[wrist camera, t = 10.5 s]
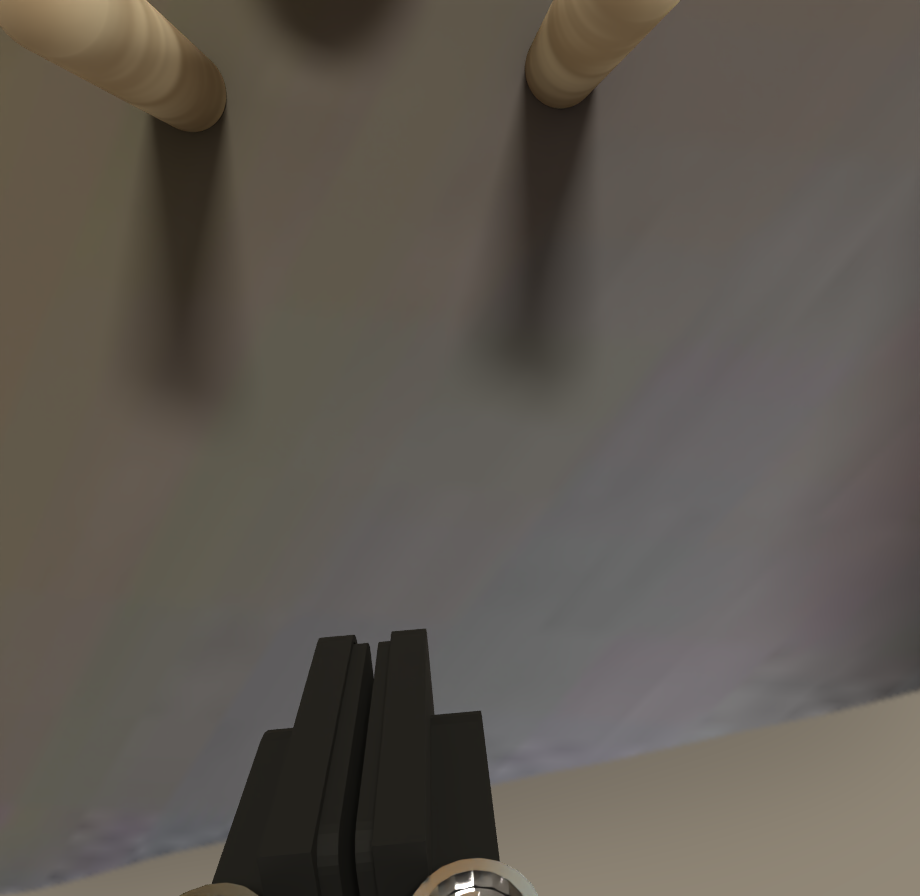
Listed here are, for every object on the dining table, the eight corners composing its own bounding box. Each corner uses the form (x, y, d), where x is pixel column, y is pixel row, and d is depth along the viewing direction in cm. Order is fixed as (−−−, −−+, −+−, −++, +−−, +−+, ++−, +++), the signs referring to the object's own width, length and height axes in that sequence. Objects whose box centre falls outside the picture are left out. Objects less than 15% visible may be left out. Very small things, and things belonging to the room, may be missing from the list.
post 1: (219, 47, 23) (93, -85, 14) (231, 129, 23) (118, 53, 15) (143, 51, 23) (-32, -78, 14) (158, 134, 23) (0, 60, 15)
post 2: (597, 24, 23) (700, -118, 14) (598, 106, 24) (696, 18, 15) (523, 28, 23) (582, -112, 14) (526, 110, 24) (584, 24, 15)
